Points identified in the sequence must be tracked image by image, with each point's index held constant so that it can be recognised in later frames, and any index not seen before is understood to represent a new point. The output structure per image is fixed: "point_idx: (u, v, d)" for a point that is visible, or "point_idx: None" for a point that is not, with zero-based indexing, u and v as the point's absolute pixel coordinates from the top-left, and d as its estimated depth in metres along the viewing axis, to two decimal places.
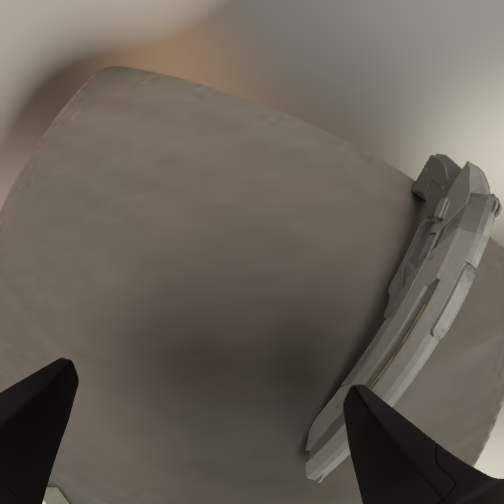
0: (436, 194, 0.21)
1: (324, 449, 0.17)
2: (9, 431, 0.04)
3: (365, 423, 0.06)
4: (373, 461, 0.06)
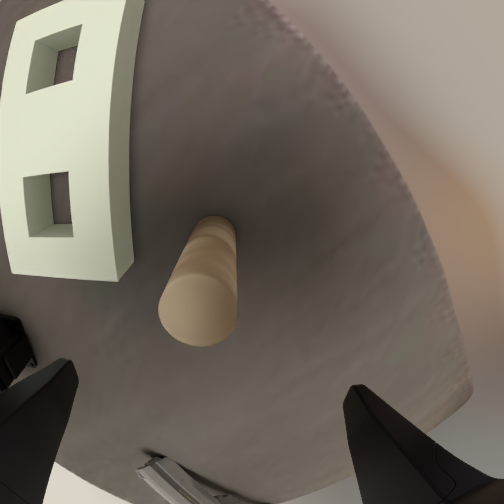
0: None
1: (160, 479, 0.26)
2: (9, 431, 0.04)
3: (365, 423, 0.06)
4: (373, 461, 0.06)
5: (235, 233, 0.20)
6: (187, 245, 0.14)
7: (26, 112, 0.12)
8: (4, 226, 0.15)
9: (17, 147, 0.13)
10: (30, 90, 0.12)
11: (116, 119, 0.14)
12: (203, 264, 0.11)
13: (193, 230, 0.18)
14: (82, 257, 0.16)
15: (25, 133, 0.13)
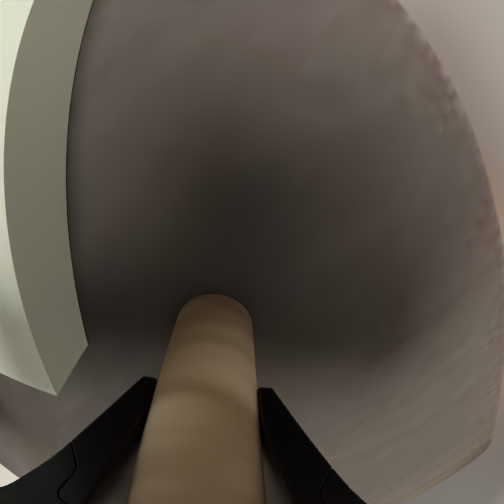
0: None
1: None
2: (108, 472, 0.04)
3: (261, 430, 0.06)
4: (266, 474, 0.05)
5: None
6: (158, 409, 0.06)
7: None
8: None
9: None
10: None
11: (29, 110, 0.06)
12: None
13: (176, 332, 0.09)
14: (2, 351, 0.07)
15: None
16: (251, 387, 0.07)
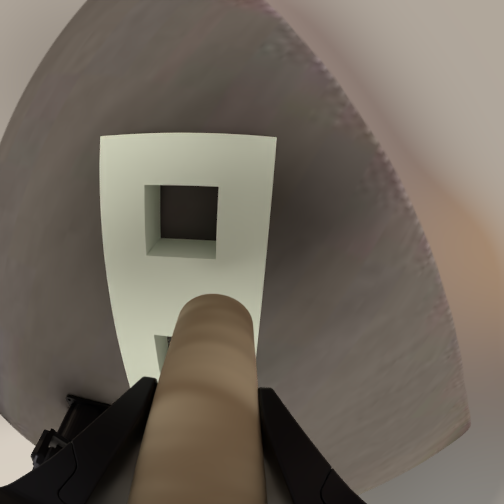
0: None
1: None
2: (108, 472, 0.04)
3: (261, 431, 0.06)
4: (266, 474, 0.05)
5: (252, 323, 0.11)
6: (159, 409, 0.06)
7: (152, 276, 0.17)
8: (126, 364, 0.19)
9: (143, 308, 0.18)
10: (148, 247, 0.17)
11: None
12: None
13: (176, 331, 0.09)
14: None
15: (154, 297, 0.17)
16: (252, 387, 0.07)
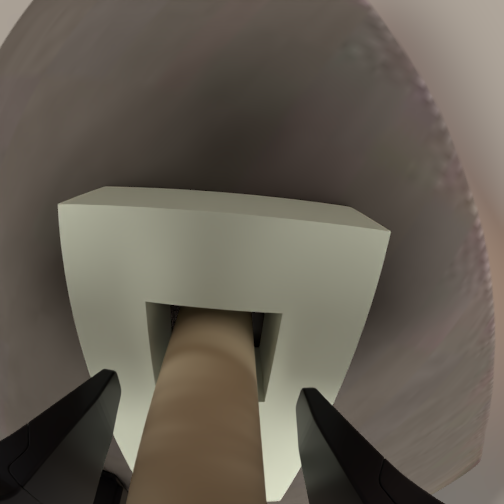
0: None
1: None
2: (58, 455, 0.04)
3: (310, 429, 0.06)
4: (317, 470, 0.05)
5: None
6: (168, 368, 0.07)
7: None
8: None
9: None
10: None
11: None
12: (201, 481, 0.04)
13: (183, 307, 0.10)
14: None
15: None
16: (249, 352, 0.08)
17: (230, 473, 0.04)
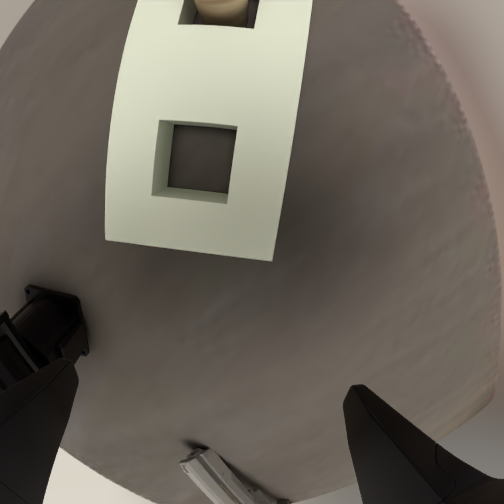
0: None
1: (205, 473, 0.25)
2: (9, 431, 0.04)
3: (365, 423, 0.06)
4: (373, 461, 0.06)
5: None
6: None
7: (177, 45, 0.12)
8: (108, 177, 0.14)
9: (156, 82, 0.13)
10: (180, 23, 0.12)
11: None
12: None
13: None
14: (232, 229, 0.16)
15: (173, 68, 0.12)
16: None
17: None
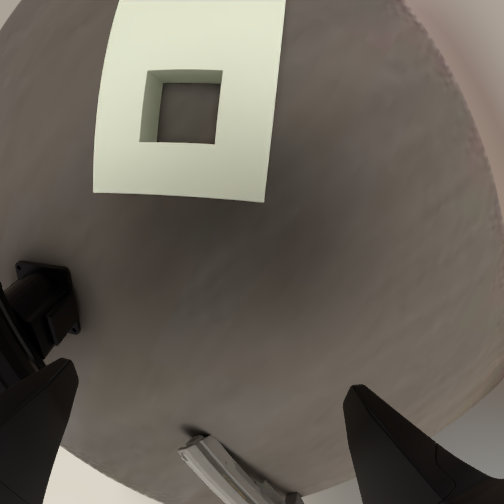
0: None
1: (206, 461, 0.24)
2: (9, 431, 0.04)
3: (365, 423, 0.06)
4: (373, 461, 0.06)
5: None
6: None
7: (165, 6, 0.11)
8: (98, 129, 0.13)
9: (145, 39, 0.12)
10: None
11: None
12: None
13: None
14: (221, 169, 0.15)
15: (161, 25, 0.12)
16: None
17: None
